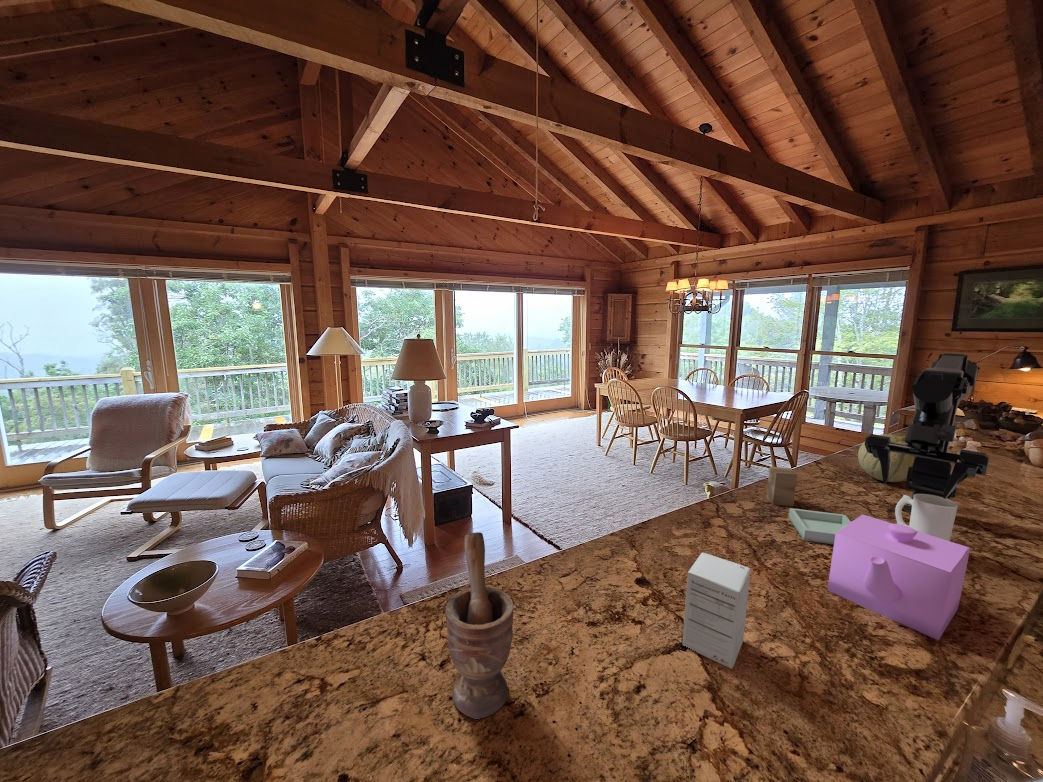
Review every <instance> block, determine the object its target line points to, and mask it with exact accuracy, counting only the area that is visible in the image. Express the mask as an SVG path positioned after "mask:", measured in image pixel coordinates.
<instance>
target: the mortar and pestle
mask: <svg viewBox="0 0 1043 782" xmlns="http://www.w3.org/2000/svg"><path fill="white" fill-rule="evenodd" d="M463 543H464V553H465V559H466V566H467V572H468V577H469V586H470V587H467V588H464V589H462V590H460V591H458V592H457V593H455V594H454V595H453V596H452V597H450V598H449V600H448V602H447V603H446V606H445V615H446V631H447V632H446V633H447V636H446V637H447V645H448V650H449V656H450V658H451V660H452V663H453V666H454V668H455V670H456V671H457V672H458V673H459V674H458V676H457V677H456V679H455V681H454V684H453V688H452V692H451V693H452V695H451V696H452V702H453V704H454V706H455V707H456V709H457V710H458V711H459V712H461V713H462V714H463V715H465V716H466V717H469V718H471V719H473V718H474V719H473V720H475V719H478V718H481V719H484V718H487V717H489V716H492V715H493V714H494V713H497V711H499V710H501V709H502V707H504V706H505V704H506V703H507V700H508V698H507V696H509V689H508V688H509V687H508V683H507V680H506V678H505V676H504V675H503V674H502V670H503V668H505V665H506V664H507V661H508V658H509V654H510V652H511V649H512V648H511V647H512V642H513V635H514V634H513V632H514V631H513V629H514V628H513V622H514V603H513V600H512V599H511V597H510V596H509V595H508V593H507V592H505V591H502V590H501V589H499V588H496V587H491V586H490V587H489V586H486V578H485V576H486V575H485V569H486V568H485V562H486V559H485V558H486V547H485V545H486V544H485V539H484V533H482V532H480V531H479V532H470V533H466V534H465V535H464V541H463ZM505 702H506V703H505Z"/></svg>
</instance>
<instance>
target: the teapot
mask: <svg viewBox="0 0 1043 782" xmlns="http://www.w3.org/2000/svg"><path fill="white" fill-rule="evenodd" d="M908 526H909V525H908ZM908 526H905V525H901V524H897V523H892V522H889V521H886V520H882V519H878V518H876V517H872V516H869V515H867V514H866V515H865V514H862V513H861V515H860V516H858V517H856V518H855V519H854V520H851V523H849V524H848V525H847V526H845V527H844V528H842V529H841V530H840V531H838V532H837V533H836V534H835V540H834V544H833V549H832V554H831V555H832V557H831V562H830V569H829V578H828V584H827V589H826V590H827V592H830V593H833V594H835V595H837V596H839V597H841V598H843V599H846V600H848V601H850V602H852V603H854V604H856V605H859V606H861V607H863V608H866V609H867V610H870V611H872V612H875V613H876V614H879V615H881V616H883V617H885V618H887V619H890V620H892V621H895V622H896V623H898V622H899V623H898V624H900V625H902V626H905V627H907V628H909V629H912V630H914V631H916V632H918V633H921V634H923V635H925V636H928V637H929V638H932V639H934V640H936V641H939V640H940V639H941V637H942V636H943V634H944V632H946V629H947V628H948V626H949V624H950V623H951V621H952V619H953V618H954V616H955V614H956V613H957V611H958V610H959V605H960V600H961V596H962V595H961V594H962V592H963V591H962V590H963V586H964V581H965V575H966V572H967V565H968V561H969V556H970V551H971V548H970V547H969V546H966V545H962V544H960V543H956V542H953V541H951V540H950V541H947V540H944V539H941V538H937V537H934V536H931V535H928V534H924V533H921V532H919V531H917V530H914V529H913V528H911V527H908Z"/></svg>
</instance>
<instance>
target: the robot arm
mask: <svg viewBox="0 0 1043 782" xmlns="http://www.w3.org/2000/svg"><path fill="white" fill-rule="evenodd" d="M978 369H979V367H978V364H975V362H973V361H972V360H971V361H970V360H969V354H966V353H955V352H943V353H939V355H938V359H936V360H935V361H933V362H932V363H931V366H930V367H926V368H924V369H923V370H922V372H921V373H918V374H917V375H916V378H915V380H914V381H913V383H912V386H911V389H912V395H913V401H914V402H913V404H914V407H915V410H914V414H913V418H912V421H911V423H908V426H907V431H906V434H905V436H906V437H905V443H906V445H902V444H896V443H891V439H890V437H886V436H880V435H881V434H872V433H870V434H868V435H866V438H865V441H864V442H865V447H866V450H867V452H868V453H870V454H873V457H875V458H878V459H879V461H880V464H881V470H882V477H883V481H882V483H883V485H884V486H887V484H888V482H887V481H888V475H889V467H890V455H889V454H890V452H896V453H901V454H907V455H912V456H917V457H916V458H915V459H914V462H913V466H909V469H908V473H907V480H905V481H906V482H905V489H907V490H912V495H911V498H912V499H913V498H914V495H915V494H929V495H934V496H939V497H942V498H943V499H949V500H951V499H954V498H956V494H957V489H958V486H959V485H960V484H961V483H962V482H963V481H964V480H966V479H967V478H968V477H970V478H976V477H977V476H978V475H979V476H986V474H987V471H988V465H989V461H990V456H989V455H988V454H987V453H986V452H981V451H975V450H968V449H960V451H959V454H957V453H954V452H953V453H952V452H948V450H949V447H950V443H953V442H954V440H955V435H956V430H957V426H955V425H954V424H955V420H956V415H957V411H958V406H959V403H960V402H961V401H963V400H964V399H965V398H966V397H967V396H969V395H970V393H971V387H975V386H976V383H977V382H976V381H977V377H978ZM952 464H954V466H952ZM902 508H903V509H905V510H906V511H908V512H909V513H910V514H911V510H912V505H911V504H909V505H907V504H905V505H904V506H903V507H902Z"/></svg>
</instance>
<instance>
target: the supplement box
mask: <svg viewBox="0 0 1043 782" xmlns="http://www.w3.org/2000/svg"><path fill="white" fill-rule="evenodd" d="M751 571H752V570H751V568H750V567H748V566H745V565H742V564H740V563H736V562H733V561H730V560H728V559H724V558H720V557H718V556H715V555H713V554H708V553H706V552H701V553H700V554H699V556H698V557H697V558H696V560H695V562H694V563H693V564H692V566H691V567H690V569H689V570H688V572H687V583H686V593H685V605H684V607H685V608H684V619H683V632H682V646H684V647H685V646H686V648H687V647H688V648H687V649H689V648H690V649H689V650H691V649H692V650H691V651H693V650H694V652H695V651H696V652H695V653H697V654H699V655H701V656H703V657H706V658H708V659H710V660H712V661H714V662H716V663H719V664H721V665H722V666H725V667H727V668H729V669H733V668H734V665H735V664H736V661H737V658H738V656H739V653H740V650H741V648H742V645H743V643H744V640H745V639H744V637H745V628H746V627H745V626H746V619H747V617H746V616H747V609H748V608H747V607H748V601H749V600H748V599H749V591H750V589H749V588H750V580H751V579H750V578H751Z"/></svg>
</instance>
